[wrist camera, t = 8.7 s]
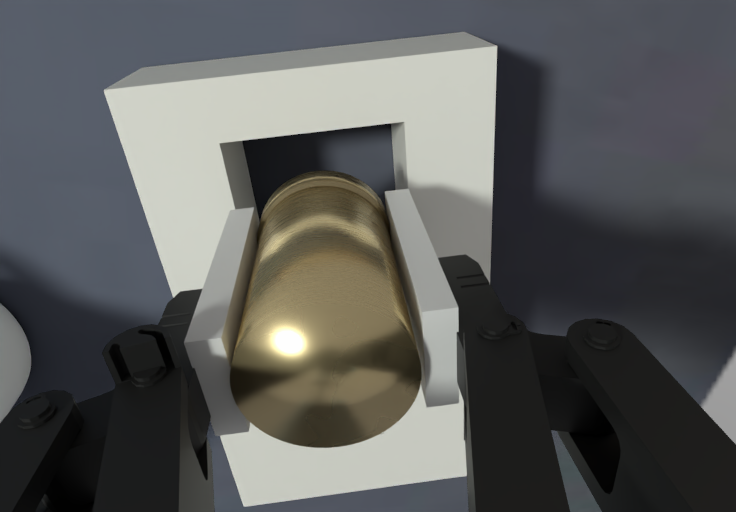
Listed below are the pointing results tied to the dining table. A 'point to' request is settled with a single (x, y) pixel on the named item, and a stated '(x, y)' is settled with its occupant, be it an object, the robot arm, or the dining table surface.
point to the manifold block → (234, 191)
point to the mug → (12, 361)
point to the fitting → (325, 318)
